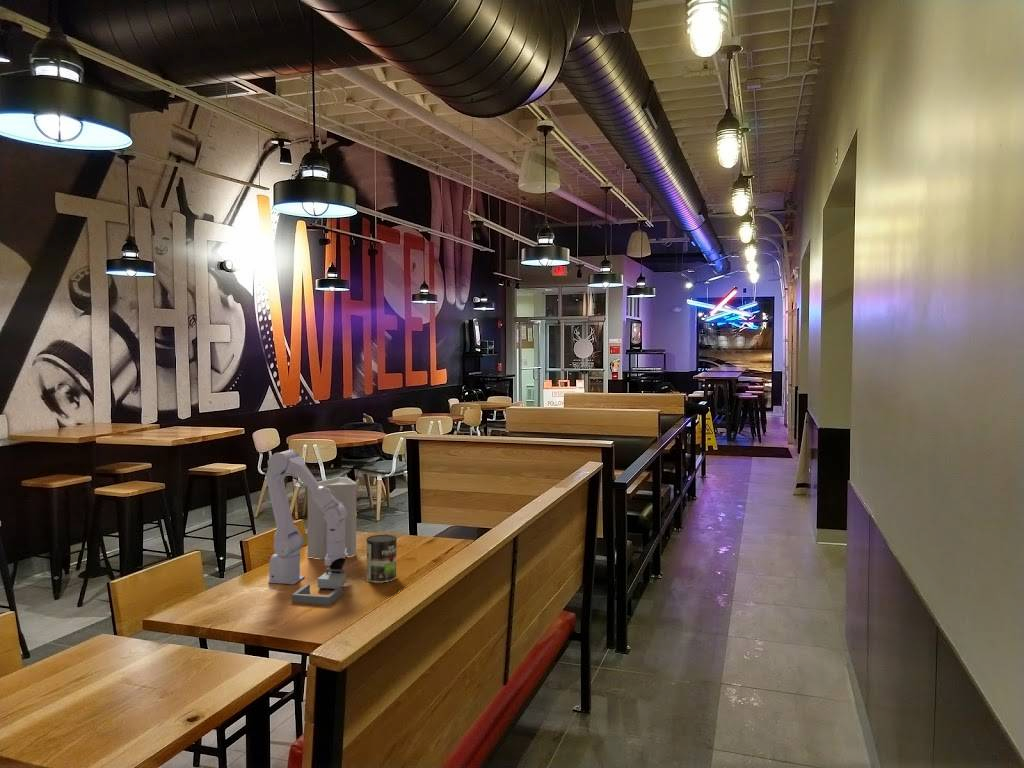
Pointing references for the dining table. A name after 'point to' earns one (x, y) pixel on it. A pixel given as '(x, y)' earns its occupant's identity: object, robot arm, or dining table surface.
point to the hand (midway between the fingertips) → (336, 580)
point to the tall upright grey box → (317, 525)
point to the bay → (315, 596)
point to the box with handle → (331, 579)
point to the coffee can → (381, 558)
